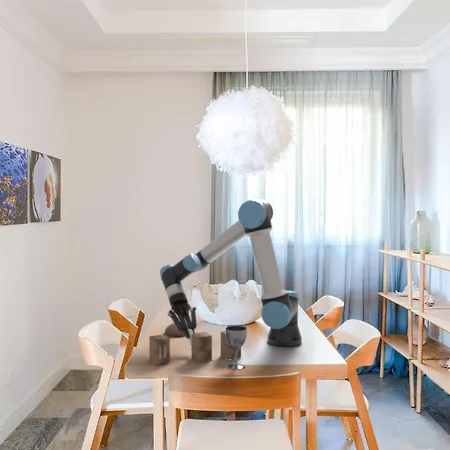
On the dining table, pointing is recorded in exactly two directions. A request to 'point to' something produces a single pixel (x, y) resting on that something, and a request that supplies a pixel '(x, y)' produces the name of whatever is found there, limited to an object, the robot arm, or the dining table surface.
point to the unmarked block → (201, 346)
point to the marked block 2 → (227, 348)
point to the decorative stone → (173, 331)
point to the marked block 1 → (159, 349)
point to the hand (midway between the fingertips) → (193, 344)
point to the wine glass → (236, 342)
